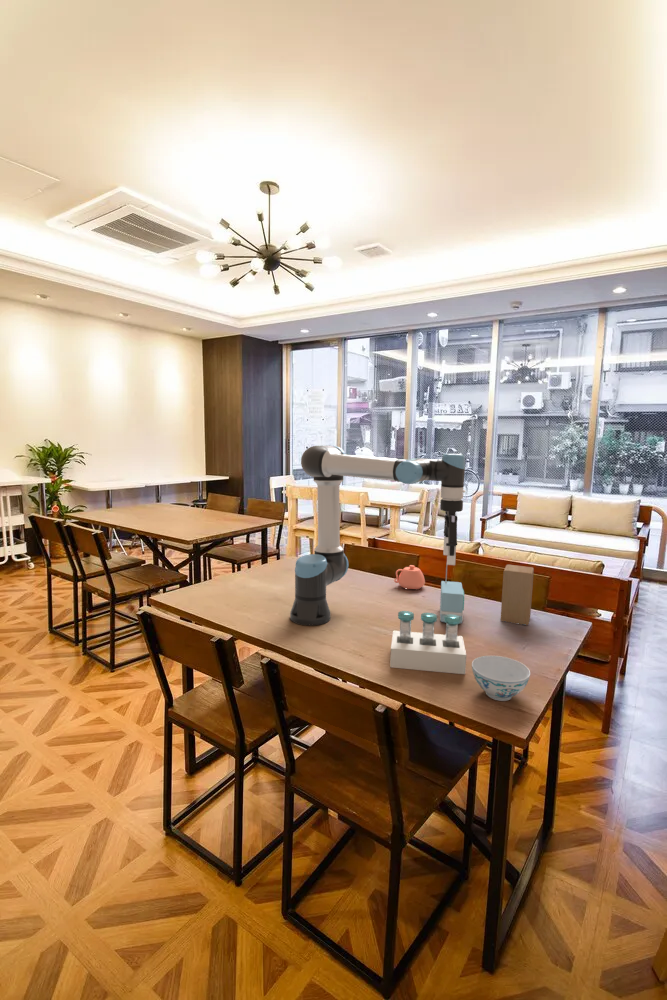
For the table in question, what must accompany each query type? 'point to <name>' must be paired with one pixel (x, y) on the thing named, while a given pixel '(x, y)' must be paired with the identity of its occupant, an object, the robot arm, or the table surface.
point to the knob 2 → (451, 630)
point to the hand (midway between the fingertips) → (448, 559)
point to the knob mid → (428, 628)
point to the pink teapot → (410, 578)
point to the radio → (451, 599)
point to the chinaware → (500, 676)
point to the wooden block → (517, 594)
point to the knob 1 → (405, 626)
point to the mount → (428, 654)
